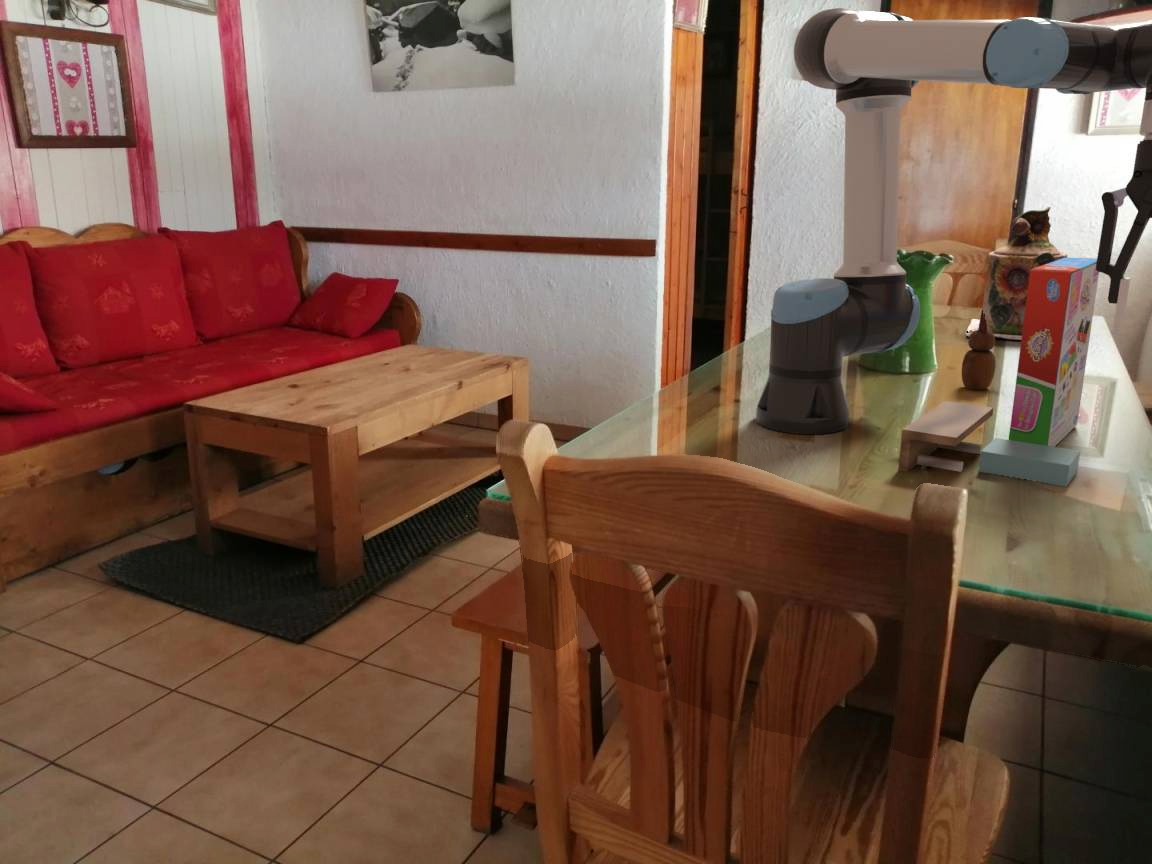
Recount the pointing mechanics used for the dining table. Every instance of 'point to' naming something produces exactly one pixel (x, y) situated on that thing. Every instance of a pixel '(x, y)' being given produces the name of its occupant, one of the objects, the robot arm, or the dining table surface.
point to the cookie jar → (1015, 274)
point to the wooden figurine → (979, 358)
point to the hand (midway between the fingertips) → (1143, 331)
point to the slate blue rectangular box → (1029, 461)
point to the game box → (1053, 350)
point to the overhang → (941, 435)
